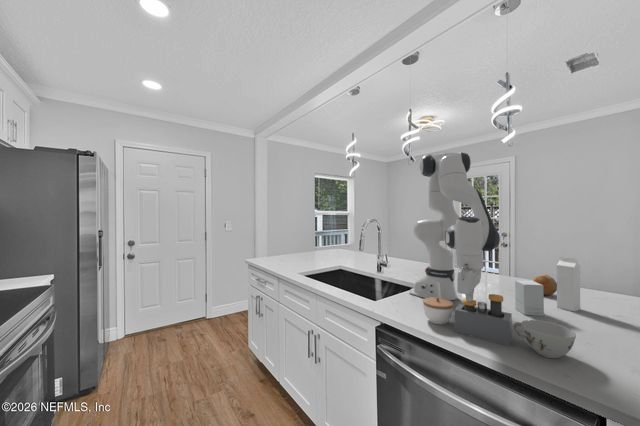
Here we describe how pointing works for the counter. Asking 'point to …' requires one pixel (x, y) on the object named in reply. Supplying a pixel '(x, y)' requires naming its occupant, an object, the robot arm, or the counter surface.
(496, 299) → the knob right
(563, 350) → the teacup
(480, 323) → the mount
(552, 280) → the onion
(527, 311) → the supplement box
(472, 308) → the knob left
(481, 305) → the shiny silver ball
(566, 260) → the milk
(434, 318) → the lidded jar
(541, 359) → the counter surface
